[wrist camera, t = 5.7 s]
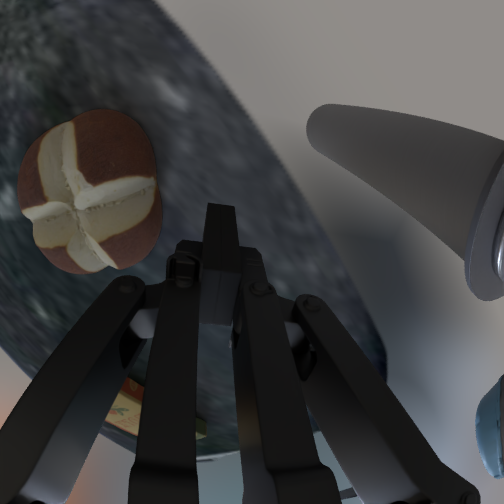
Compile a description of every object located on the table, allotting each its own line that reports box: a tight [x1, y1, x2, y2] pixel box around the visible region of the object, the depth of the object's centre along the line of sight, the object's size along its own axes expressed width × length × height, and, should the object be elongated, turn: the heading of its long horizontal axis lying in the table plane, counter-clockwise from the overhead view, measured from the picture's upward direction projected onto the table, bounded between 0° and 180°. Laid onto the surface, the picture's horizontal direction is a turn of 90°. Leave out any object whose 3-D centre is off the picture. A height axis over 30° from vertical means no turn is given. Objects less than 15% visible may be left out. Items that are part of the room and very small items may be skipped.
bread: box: [17, 109, 162, 274], centre depth 16 cm, size 11×11×5 cm
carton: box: [105, 377, 207, 440], centre depth 29 cm, size 8×16×4 cm, turn 34°
